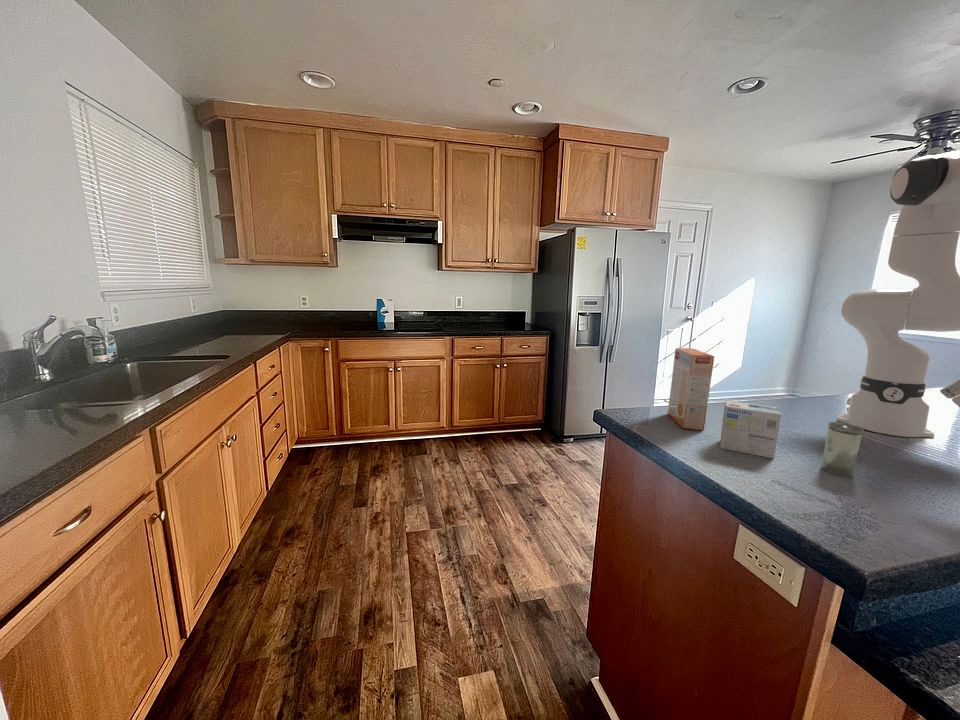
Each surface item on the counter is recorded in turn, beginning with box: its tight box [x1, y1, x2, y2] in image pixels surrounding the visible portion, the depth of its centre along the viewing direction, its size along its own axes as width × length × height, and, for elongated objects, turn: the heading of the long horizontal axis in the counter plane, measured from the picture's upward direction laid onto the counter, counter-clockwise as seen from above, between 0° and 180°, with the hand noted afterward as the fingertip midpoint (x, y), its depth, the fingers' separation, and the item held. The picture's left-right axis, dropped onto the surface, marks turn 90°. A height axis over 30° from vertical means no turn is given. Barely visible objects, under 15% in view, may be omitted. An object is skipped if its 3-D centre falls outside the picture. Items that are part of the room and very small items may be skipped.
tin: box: [820, 421, 865, 478], centre depth 78 cm, size 5×5×10 cm
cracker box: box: [667, 347, 715, 431], centre depth 106 cm, size 14×6×21 cm, turn 168°
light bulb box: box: [719, 400, 782, 459], centre depth 88 cm, size 11×7×11 cm, turn 58°
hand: (949, 399), depth 67 cm, fingers open, 8 cm apart
